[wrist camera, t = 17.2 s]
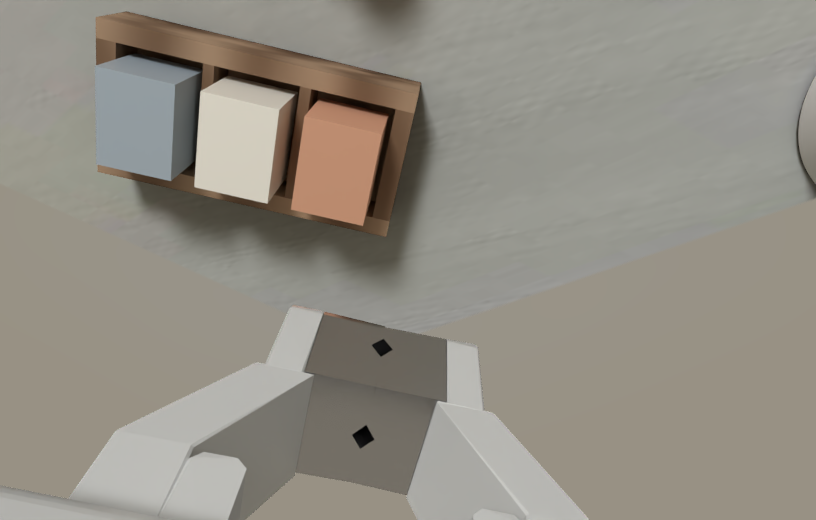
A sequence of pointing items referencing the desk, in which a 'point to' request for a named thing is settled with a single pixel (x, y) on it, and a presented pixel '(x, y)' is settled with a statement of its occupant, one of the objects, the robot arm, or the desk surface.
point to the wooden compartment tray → (278, 70)
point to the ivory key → (244, 138)
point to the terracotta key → (338, 161)
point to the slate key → (147, 115)
